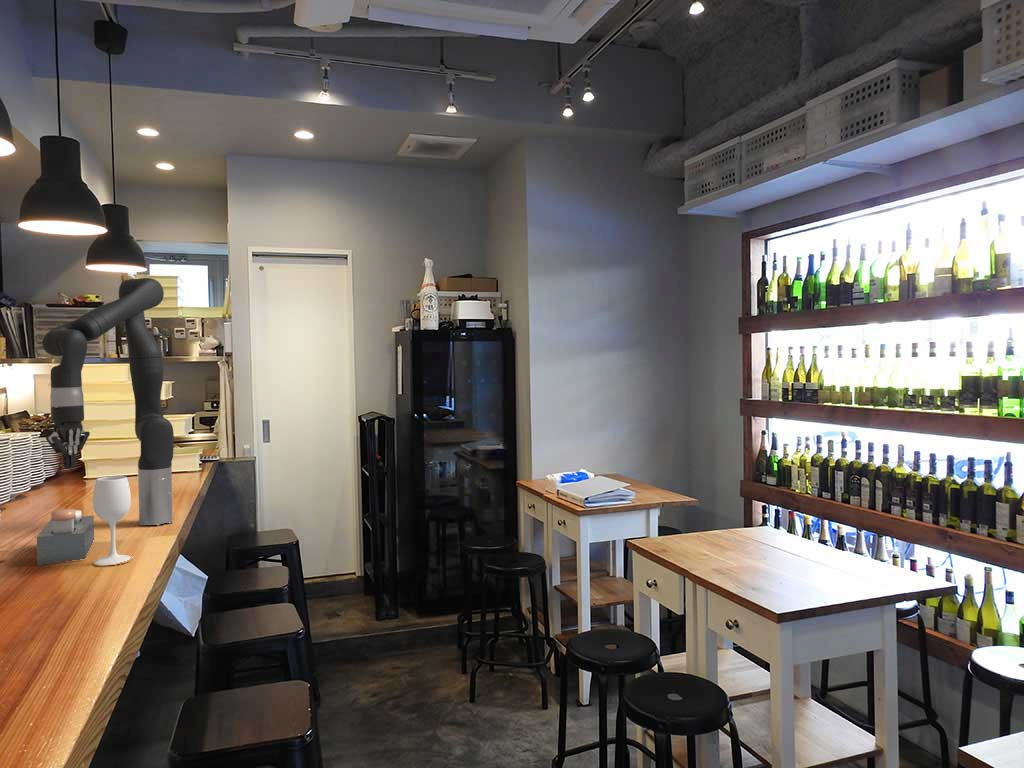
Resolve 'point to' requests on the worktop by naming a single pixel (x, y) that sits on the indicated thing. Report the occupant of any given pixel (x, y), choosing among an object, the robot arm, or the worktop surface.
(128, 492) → the wineglass
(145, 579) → the worktop surface
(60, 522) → the plunger
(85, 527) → the plunger panel
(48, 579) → the worktop surface
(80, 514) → the white ball knob
